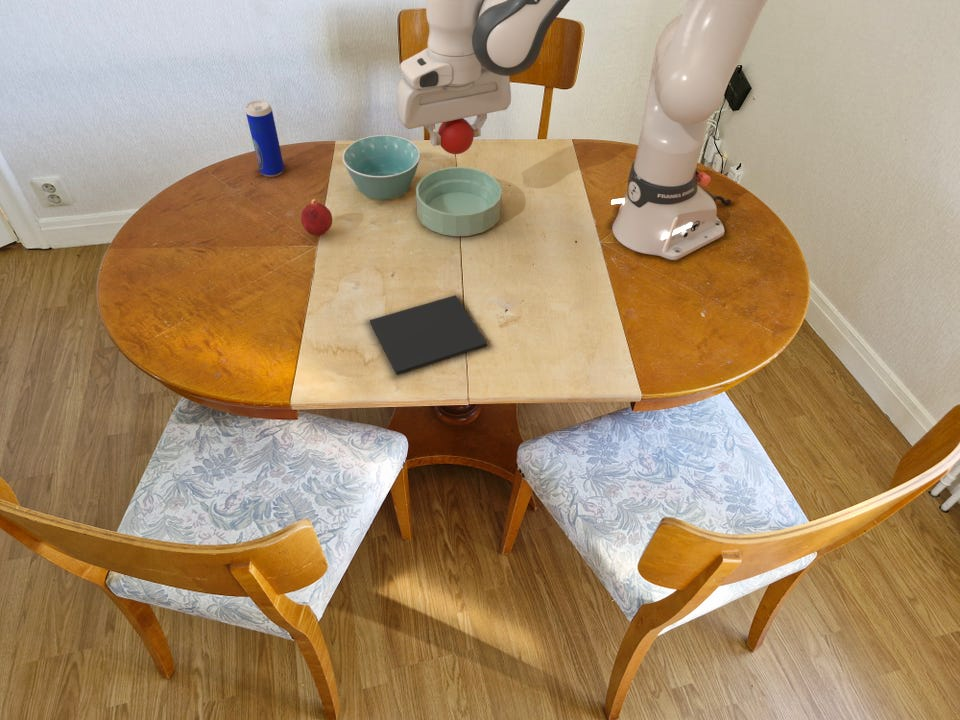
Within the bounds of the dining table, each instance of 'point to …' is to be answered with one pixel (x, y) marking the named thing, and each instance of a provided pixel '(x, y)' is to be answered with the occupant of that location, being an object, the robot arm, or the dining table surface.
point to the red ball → (456, 136)
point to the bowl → (382, 165)
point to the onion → (316, 218)
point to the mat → (427, 334)
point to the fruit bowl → (458, 201)
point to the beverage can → (265, 138)
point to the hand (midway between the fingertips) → (455, 139)
